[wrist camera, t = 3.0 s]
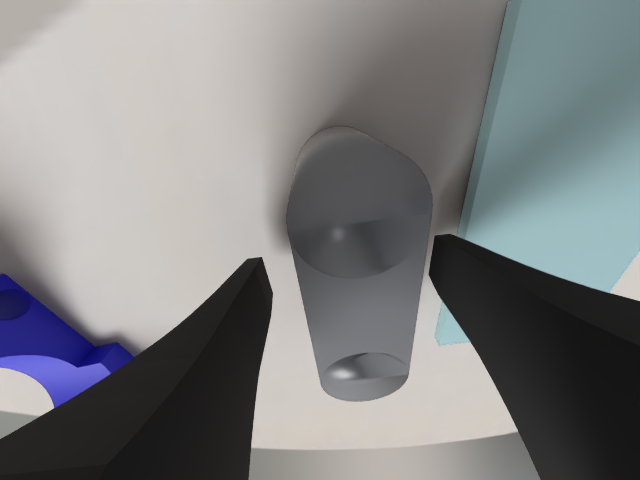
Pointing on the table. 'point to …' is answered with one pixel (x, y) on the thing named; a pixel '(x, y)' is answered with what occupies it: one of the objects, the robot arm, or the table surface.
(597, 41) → the rubber mat
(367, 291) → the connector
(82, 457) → the robot arm
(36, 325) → the cable clip
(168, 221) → the table surface
